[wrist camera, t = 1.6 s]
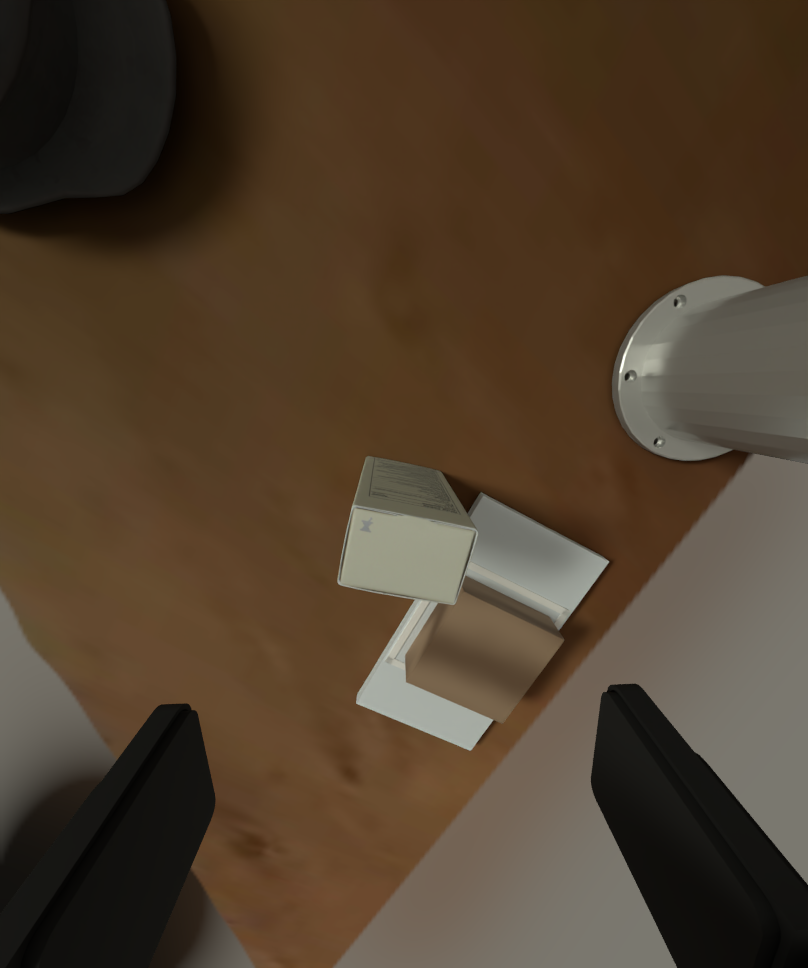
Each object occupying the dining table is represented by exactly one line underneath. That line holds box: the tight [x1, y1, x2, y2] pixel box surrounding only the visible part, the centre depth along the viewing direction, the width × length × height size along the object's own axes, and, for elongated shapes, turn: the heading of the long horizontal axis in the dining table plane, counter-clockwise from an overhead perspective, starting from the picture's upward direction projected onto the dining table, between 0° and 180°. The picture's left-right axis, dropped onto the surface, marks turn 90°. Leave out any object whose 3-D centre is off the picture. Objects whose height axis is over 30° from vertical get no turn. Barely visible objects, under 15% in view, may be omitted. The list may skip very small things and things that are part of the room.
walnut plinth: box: [405, 576, 564, 724], centre depth 30 cm, size 9×9×3 cm
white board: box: [356, 492, 609, 751], centre depth 32 cm, size 22×12×1 cm, turn 152°
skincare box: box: [338, 456, 478, 605], centre depth 24 cm, size 6×4×12 cm
